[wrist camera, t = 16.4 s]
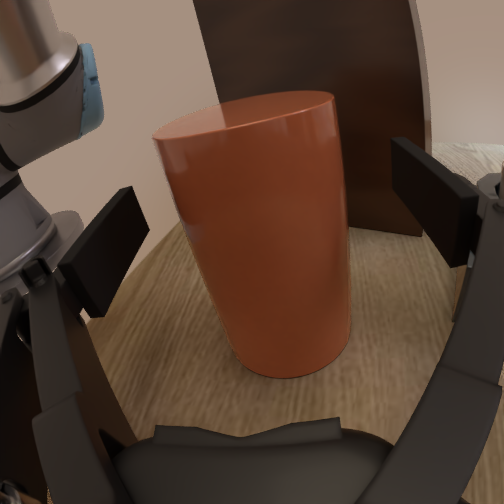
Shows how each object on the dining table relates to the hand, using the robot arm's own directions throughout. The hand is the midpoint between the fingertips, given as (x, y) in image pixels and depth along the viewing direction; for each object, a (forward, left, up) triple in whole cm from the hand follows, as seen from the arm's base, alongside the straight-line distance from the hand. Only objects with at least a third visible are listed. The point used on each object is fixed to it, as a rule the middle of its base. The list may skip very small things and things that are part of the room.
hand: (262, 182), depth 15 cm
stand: (-1, +15, -8) cm, 17 cm away
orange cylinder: (+1, -2, -8) cm, 8 cm away
